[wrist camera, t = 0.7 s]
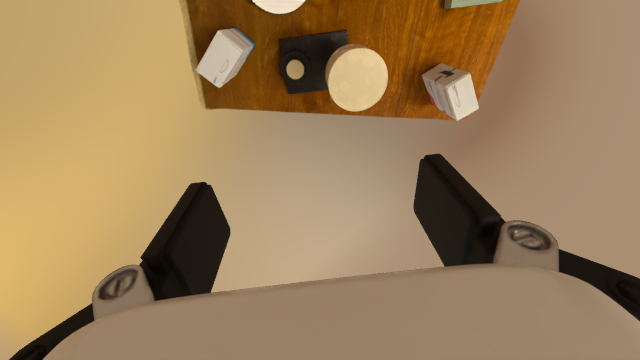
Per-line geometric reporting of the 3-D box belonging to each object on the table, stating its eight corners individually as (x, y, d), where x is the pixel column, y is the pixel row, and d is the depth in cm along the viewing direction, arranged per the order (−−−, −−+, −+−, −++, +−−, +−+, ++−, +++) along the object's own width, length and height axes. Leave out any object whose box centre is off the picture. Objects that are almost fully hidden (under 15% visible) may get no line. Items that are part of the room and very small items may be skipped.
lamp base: (286, 92, 57) (285, 97, 54) (276, 39, 51) (274, 40, 48) (348, 84, 57) (350, 88, 54) (346, 30, 51) (348, 31, 48)
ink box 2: (451, 93, 59) (480, 109, 50) (432, 105, 61) (456, 122, 51) (441, 61, 55) (471, 72, 45) (420, 74, 56) (445, 87, 47)
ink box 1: (234, 25, 49) (217, 28, 39) (256, 43, 51) (244, 50, 41) (214, 60, 53) (193, 71, 43) (235, 76, 55) (220, 90, 45)
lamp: (323, 87, 54) (330, 114, 39) (319, 40, 49) (325, 52, 34) (364, 82, 53) (386, 107, 39) (364, 35, 48) (389, 44, 34)
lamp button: (288, 78, 53) (288, 80, 51) (285, 60, 51) (284, 61, 49) (305, 76, 52) (305, 78, 51) (302, 57, 50) (302, 59, 49)
